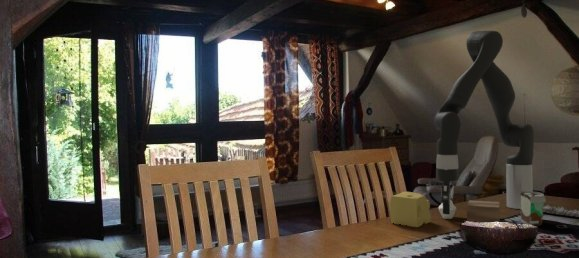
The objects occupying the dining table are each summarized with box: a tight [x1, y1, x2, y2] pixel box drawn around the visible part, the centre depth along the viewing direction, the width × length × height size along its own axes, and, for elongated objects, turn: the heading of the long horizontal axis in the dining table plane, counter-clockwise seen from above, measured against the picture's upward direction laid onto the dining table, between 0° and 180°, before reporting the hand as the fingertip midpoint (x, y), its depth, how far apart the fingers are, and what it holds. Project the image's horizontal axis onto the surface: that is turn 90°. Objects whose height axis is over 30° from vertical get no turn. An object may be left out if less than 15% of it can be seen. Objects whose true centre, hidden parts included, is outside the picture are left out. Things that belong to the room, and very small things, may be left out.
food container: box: [520, 191, 547, 227], centre depth 150 cm, size 12×6×10 cm, turn 168°
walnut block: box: [466, 200, 501, 222], centre depth 154 cm, size 10×10×6 cm
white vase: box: [438, 199, 457, 220], centre depth 159 cm, size 6×6×7 cm
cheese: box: [390, 191, 432, 228], centre depth 153 cm, size 10×11×10 cm
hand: (447, 211), depth 159 cm, fingers open, 8 cm apart
